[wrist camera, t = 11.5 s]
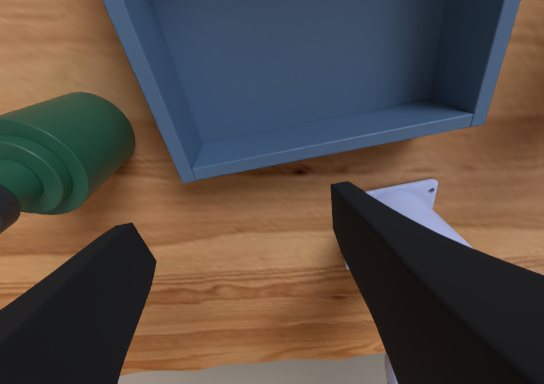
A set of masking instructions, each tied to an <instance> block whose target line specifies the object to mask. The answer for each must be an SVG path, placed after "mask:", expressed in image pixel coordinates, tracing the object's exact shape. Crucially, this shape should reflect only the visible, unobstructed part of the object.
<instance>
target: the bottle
mask: <svg viewBox="0 0 544 384" xmlns="http://www.w3.org/2000/svg"><path fill="white" fill-rule="evenodd" d="M134 144H135V138H134V133H133V130H132V127H131V125H130V123H129V121H128V120H127V118H126V117H125V116H124V114H123V113H122V112H121V111H120V110H119V109H118V108H117V107H115V106H114V105H113V104H112V103H110V102H108V101H107V100H105V99H103V98H101V97H99V96H96V95H93V94H89V93H82V92H76V93H70V94H66V95H63V96H60V97H57V98H54V99H50V100H47V101H44V102H41V103H38V104H35V105H31V106H28V107H25V108H22V109H19V110H15V111H12V112H9V113H6V114H3V115H0V234H1V233H2V232H3V231H4V230H6V229H7V228H8V227H9V226H11V225H12V224H13V223H15V222H16V221H17V220H18V218H19V216H20V211H21V212H27V213H37V214H46V215H57V214H63V213H67V212H70V211H73V210H75V209H76V208H78V207H79V206H80V205H82V204H83V203H84V202H85V201H86V200H87V199H88V198H89V197H90V196H91V195H92V194H93V193H94V192H95V191H96V190H97V189H98V188H99V187H100V186H101V185H102V184H103V183H104V182H105V181H106V180H107V179H108V178H109V177H110V176H111V175H112V174H113V173H114V172H115V171H116V170H117V169H118V168H119V167H120V166H121V165H122V164H123V163H124V162H125V161H126V160H127V159H128V158H129V157H130V155H131V154H132V152H133V149H134Z"/></svg>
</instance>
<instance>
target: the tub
mask: <svg viewBox="0 0 544 384" xmlns="http://www.w3.org/2000/svg"><path fill="white" fill-rule="evenodd" d="M102 1H103V3H104V5H105V8H106V10H107V12H108V14H109V17H110V19H111V21H112V24H113V26H114V28H115V30H116V33H117V35H118V37H119V40H120V42H121V44H122V46H123V49H124V51H125V53H126V55H127V58H128V60H129V62H130V65H131V67H132V69H133V71H134V74H135V76H136V78H137V81H138V83H139V85H140V87H141V90H142V92H143V94H144V96H145V99H146V101H147V103H148V106H149V108H150V110H151V112H152V115H153V117H154V119H155V122H156V124H157V126H158V128H159V131H160V133H161V135H162V137H163V140H164V142H165V144H166V147H167V149H168V151H169V153H170V156H171V158H172V160H173V163H174V165H175V167H176V169H177V172H178V174H179V176H180V178H181V181H182V183H187V182H193V181H196V180H201V179H206V178H212V177H217V176H222V175H227V174H232V173H237V172H242V171H247V170H253V169H258V168H263V167H268V166H273V165H278V164H283V163H289V162H294V161H299V160H304V159H309V158H314V157H319V156H324V155H330V154H335V153H340V152H345V151H350V150H355V149H360V148H365V147H371V146H376V145H381V144H386V143H391V142H396V141H401V140H406V139H412V138H417V137H422V136H427V135H432V134H437V133H442V132H447V131H453V130H458V129H463V128H468V127H474V126H479V125H483V124H484V123H485V120H486V116H487V113H488V109H489V106H490V103H491V99H492V96H493V92H494V89H495V86H496V82H497V79H498V75H499V72H500V69H501V65H502V62H503V58H504V55H505V52H506V48H507V45H508V42H509V38H510V35H511V31H512V28H513V25H514V21H515V18H516V14H517V11H518V8H519V4H520V1H521V0H102Z"/></svg>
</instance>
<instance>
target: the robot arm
mask: <svg viewBox="0 0 544 384" xmlns="http://www.w3.org/2000/svg"><path fill="white" fill-rule="evenodd" d="M437 187H438V182H437V181H436V180H435V179H427V180H422V181H417V182H411V183H406V184H401V185H396V186H390V187H385V188H380V189H374V190H369V191H363V190H361V189H360V188H358V187H357V186H355V185H353V184H352V183H350V182H348V181H347V182H342V183H336V184H331V200H332V217H333V230H334V233H335V236H336V239H337V242H338V244H339V247H340V250H341V253H342V255H343V257H344V259H345V267H346V269H347V270H350V272H351V274H352V276H353V278H354V280H355V282H356V284H357V286H358V288H359V290H360V292H361V294H362V296H363V298H364V300H365V302H366V304H367V306H368V308H369V310H370V313H371V315H372V317H373V319H374V322H375V324H376V326H377V329H378V332H379V334H380V337H381V340H382V342H383V345H384V347H385V350H386V354H385V371H386V378H387V383H388V384H544V275H541V274H538V273H535V272H533V271H530V270H527V269H525V268H522V267H519V266H517V265H514V264H511V263H509V262H506V261H503V260H501V259H498V258H495V257H493V256H490V255H488V254H485V253H483V252H480V251H478V250H475V249H473V248H472V247H471V246H470V245H469V244H468V243H467V242H466V241H465V240H464V239H463V238H462V237H461V236H460V235H459V234H458V233H457V232H456V231H455V230H453V229H452V228H451V227H450V226H449V225H448V224H447V223H446V222H445V221H444V220H443V219H442V218H441V217H440V216H439V215H438V214H437V213H436V212H435V211H433V210H432V209H433V205H434V200H435V196H436V191H437ZM429 189H431V190H429ZM156 262H157V261H156V260H155V258H154V256H153V255H152V253H151V252H150V250H149V249H148V247H147V245H146V244H145V242H144V241H143V239H142V237H141V236H140V234H139V233H138V231H137V230H136V228H135V226H134V225H133V223H127V224H122V225H117V226H115V227H113V228H111V229H110V230H108V231H107V232H105V233H104V234H102V235H101V236H100V237H98V238H97V239H95V240H94V241H93V242H91V243H90V244H89V245H87V246H86V247H85V248H84V249H82V250H81V251H80V252H78V253H77V254H76V255H74V256H73V257H72V258H71V259H69V260H68V261H67V262H65V263H64V264H63V265H61V266H60V267H59V268H57V269H56V270H55V271H54V272H52V273H51V274H50V275H48V276H47V277H45V278H44V279H43V280H41V281H40V282H39V283H37V284H36V285H35V286H33V287H32V288H31V289H29V290H28V291H26V292H25V293H24V294H22V295H21V296H20V297H18V298H17V299H16V300H14V301H13V302H11V303H10V304H9V305H7V306H6V307H4V308H3V309H1V310H0V384H117V383H118V379H119V376H120V372H121V369H122V366H123V363H124V360H125V357H126V354H127V351H128V348H129V346H130V343H131V340H132V338H133V335H134V332H135V330H136V327H137V324H138V322H139V319H140V316H141V314H142V311H143V308H144V306H145V303H146V300H147V297H148V295H149V292H150V289H151V285H152V281H153V277H154V272H155V267H156Z"/></svg>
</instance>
